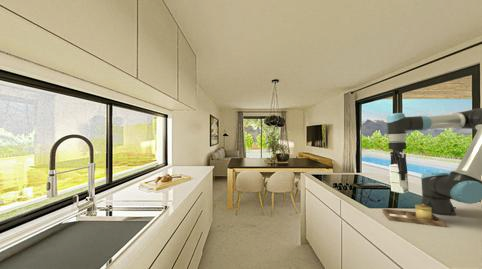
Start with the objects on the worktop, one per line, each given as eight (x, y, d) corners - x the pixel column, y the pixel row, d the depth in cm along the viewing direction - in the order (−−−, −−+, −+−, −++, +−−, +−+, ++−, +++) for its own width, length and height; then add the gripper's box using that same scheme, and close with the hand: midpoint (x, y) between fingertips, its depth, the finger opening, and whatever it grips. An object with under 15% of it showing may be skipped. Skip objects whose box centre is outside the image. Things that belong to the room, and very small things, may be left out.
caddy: (432, 219, 103) (431, 213, 103) (445, 228, 92) (444, 222, 92) (382, 213, 112) (382, 208, 112) (389, 221, 101) (388, 216, 101)
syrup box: (403, 193, 99) (402, 165, 100) (390, 191, 104) (389, 164, 105) (408, 191, 102) (407, 164, 102) (395, 189, 107) (394, 163, 108)
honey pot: (428, 219, 102) (427, 202, 102) (435, 224, 96) (434, 206, 96) (413, 217, 104) (412, 201, 104) (418, 222, 98) (417, 205, 98)
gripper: (382, 141, 115) (384, 180, 114) (395, 142, 96) (398, 188, 95) (397, 141, 112) (400, 181, 111) (414, 142, 93) (417, 189, 92)
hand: (399, 184), depth 103 cm, fingers closed on syrup box, 8 cm apart
